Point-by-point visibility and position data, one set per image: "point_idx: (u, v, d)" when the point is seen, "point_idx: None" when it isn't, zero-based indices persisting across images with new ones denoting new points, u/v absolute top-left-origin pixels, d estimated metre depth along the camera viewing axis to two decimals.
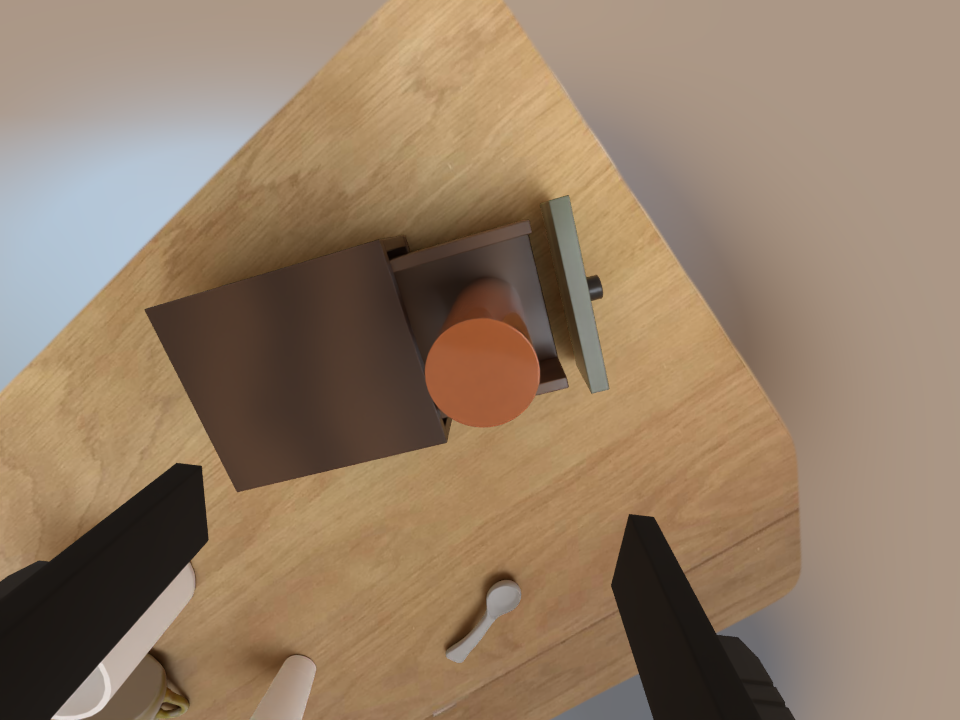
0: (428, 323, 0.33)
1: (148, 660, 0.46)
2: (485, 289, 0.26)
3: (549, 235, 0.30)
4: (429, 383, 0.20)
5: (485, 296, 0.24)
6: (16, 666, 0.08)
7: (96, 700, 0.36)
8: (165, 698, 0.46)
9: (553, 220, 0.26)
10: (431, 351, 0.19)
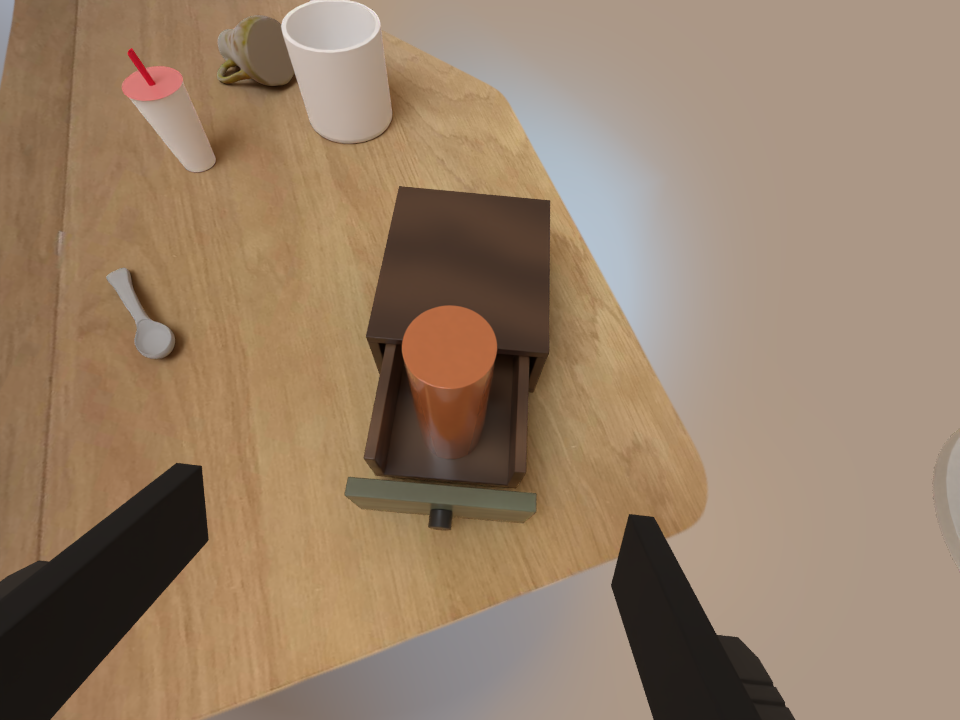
0: None
1: (281, 81, 0.56)
2: (485, 412, 0.30)
3: None
4: (458, 308, 0.24)
5: (487, 399, 0.28)
6: (16, 666, 0.08)
7: (289, 35, 0.46)
8: (242, 72, 0.55)
9: (519, 492, 0.29)
10: (482, 318, 0.24)
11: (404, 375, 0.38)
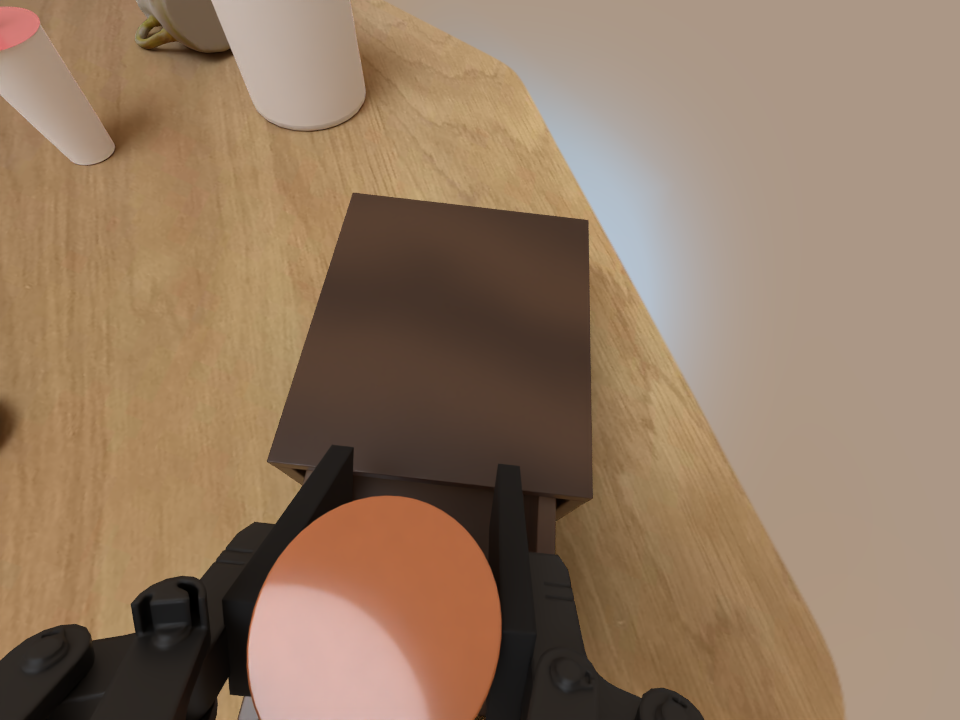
0: (439, 504, 0.23)
1: (218, 45, 0.42)
2: None
3: None
4: (408, 504, 0.10)
5: None
6: None
7: None
8: (164, 31, 0.40)
9: None
10: (467, 537, 0.10)
11: None
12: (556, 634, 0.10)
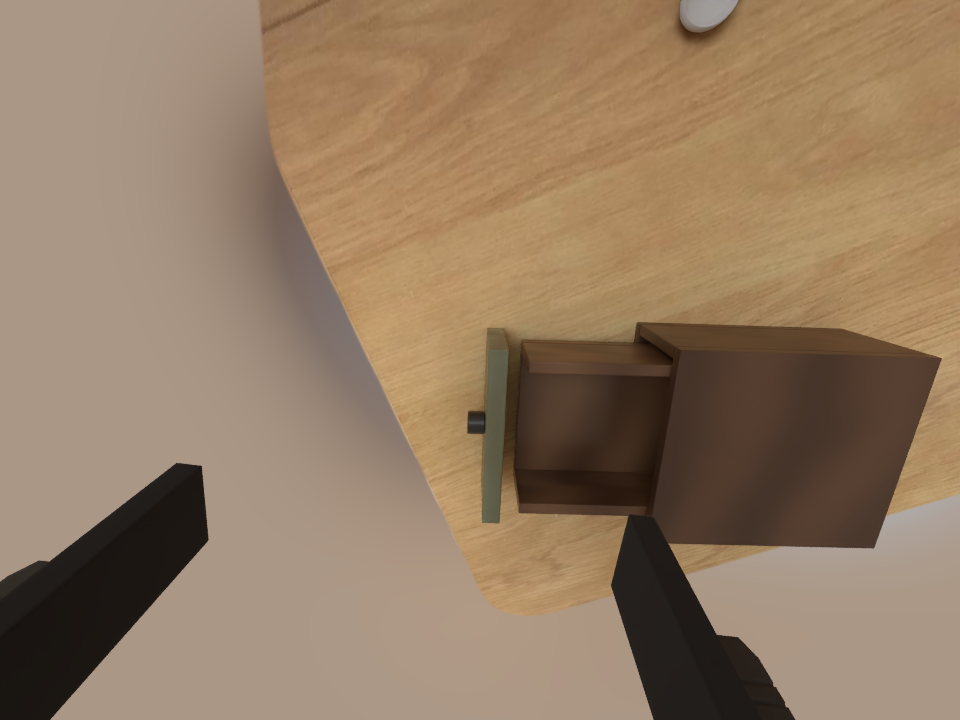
0: (631, 419, 0.34)
1: None
2: None
3: None
4: None
5: None
6: (16, 666, 0.08)
7: None
8: None
9: (499, 508, 0.30)
10: None
11: None
12: None
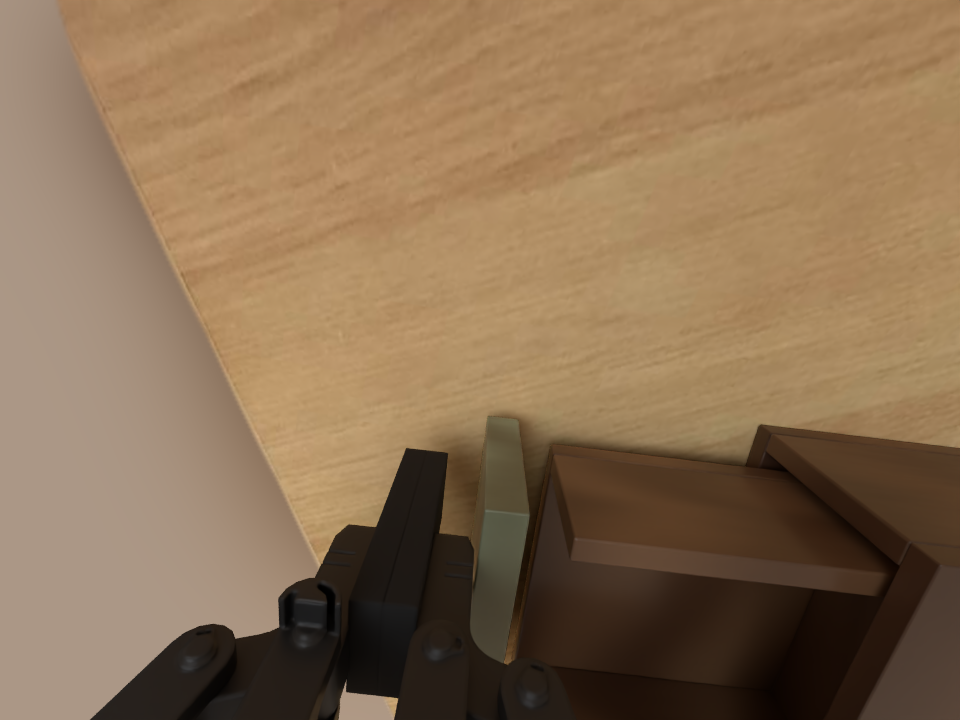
0: (741, 604, 0.18)
1: None
2: None
3: None
4: None
5: None
6: None
7: None
8: None
9: None
10: None
11: None
12: (446, 610, 0.10)
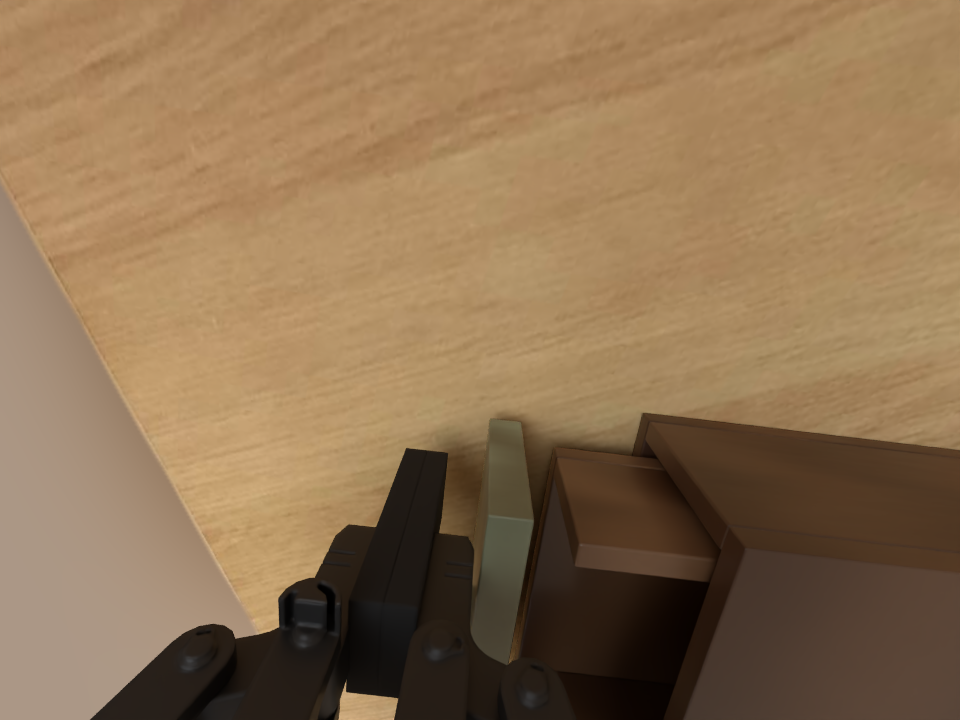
0: None
1: None
2: None
3: None
4: None
5: None
6: None
7: None
8: None
9: None
10: None
11: None
12: (446, 609, 0.10)
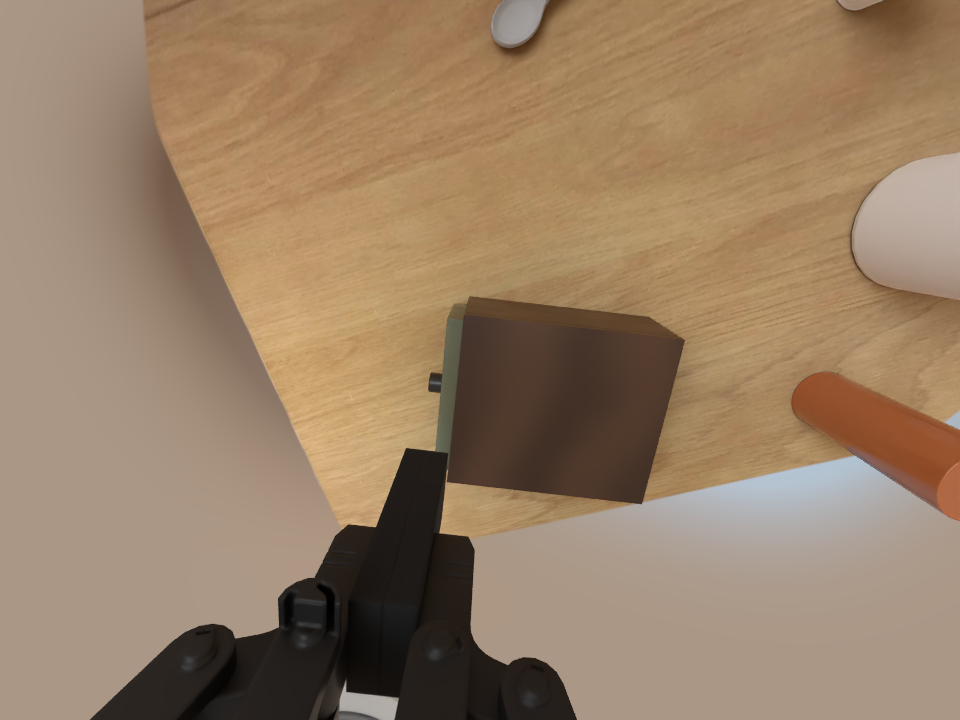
0: None
1: None
2: None
3: None
4: None
5: (879, 470, 0.33)
6: None
7: None
8: None
9: None
10: None
11: None
12: (446, 609, 0.10)
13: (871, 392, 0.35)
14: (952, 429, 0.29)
